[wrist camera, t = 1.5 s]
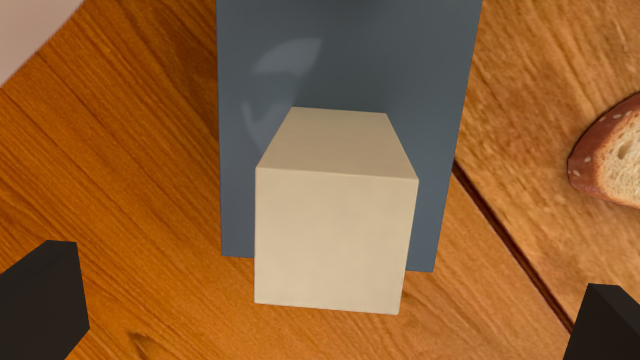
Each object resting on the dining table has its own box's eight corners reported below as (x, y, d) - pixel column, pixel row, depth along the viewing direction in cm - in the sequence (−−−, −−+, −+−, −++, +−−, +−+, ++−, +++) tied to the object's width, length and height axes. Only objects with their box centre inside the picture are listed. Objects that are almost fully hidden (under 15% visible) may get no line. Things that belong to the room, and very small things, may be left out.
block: (291, 106, 22) (254, 167, 13) (386, 113, 22) (419, 179, 13) (287, 193, 24) (253, 303, 15) (375, 200, 24) (398, 315, 14)
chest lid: (218, -99, 20) (171, -144, 14) (492, -82, 20) (551, -122, 14) (224, 248, 26) (194, 308, 21) (430, 265, 26) (453, 329, 21)
